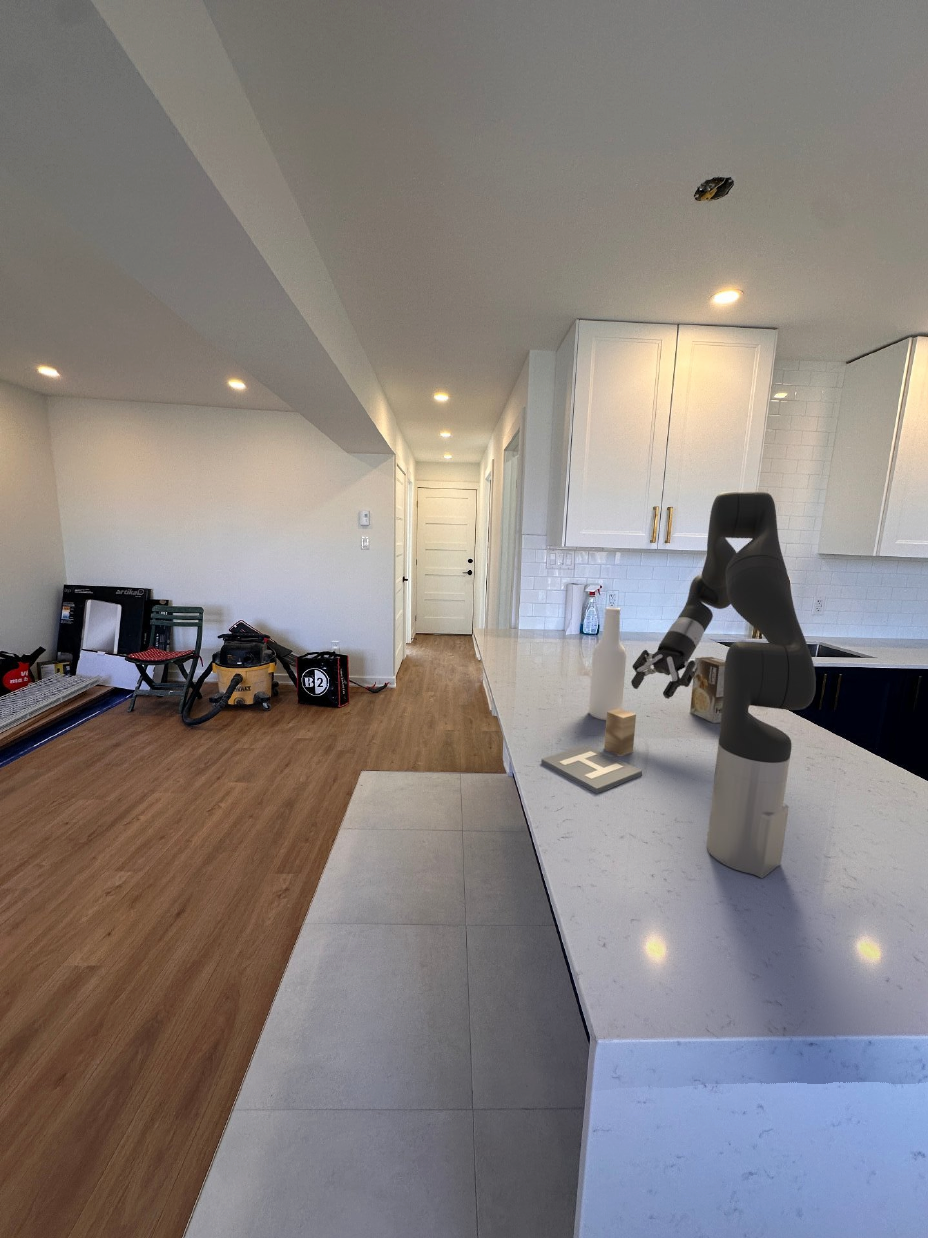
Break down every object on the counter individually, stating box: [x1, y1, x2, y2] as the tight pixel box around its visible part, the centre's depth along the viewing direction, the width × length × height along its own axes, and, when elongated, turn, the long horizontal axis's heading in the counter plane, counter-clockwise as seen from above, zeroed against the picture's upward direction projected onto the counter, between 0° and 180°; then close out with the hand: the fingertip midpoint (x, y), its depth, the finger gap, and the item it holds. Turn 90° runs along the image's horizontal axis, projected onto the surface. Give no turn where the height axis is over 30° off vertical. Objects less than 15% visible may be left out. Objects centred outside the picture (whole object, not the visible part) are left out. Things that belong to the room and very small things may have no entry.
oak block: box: [603, 708, 637, 757], centre depth 112 cm, size 4×4×9 cm
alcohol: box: [588, 606, 627, 721], centre depth 134 cm, size 9×9×30 cm
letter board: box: [540, 744, 643, 794], centre depth 103 cm, size 15×14×1 cm
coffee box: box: [689, 656, 725, 724], centre depth 136 cm, size 9×6×16 cm
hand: (649, 691), depth 117 cm, fingers open, 8 cm apart
